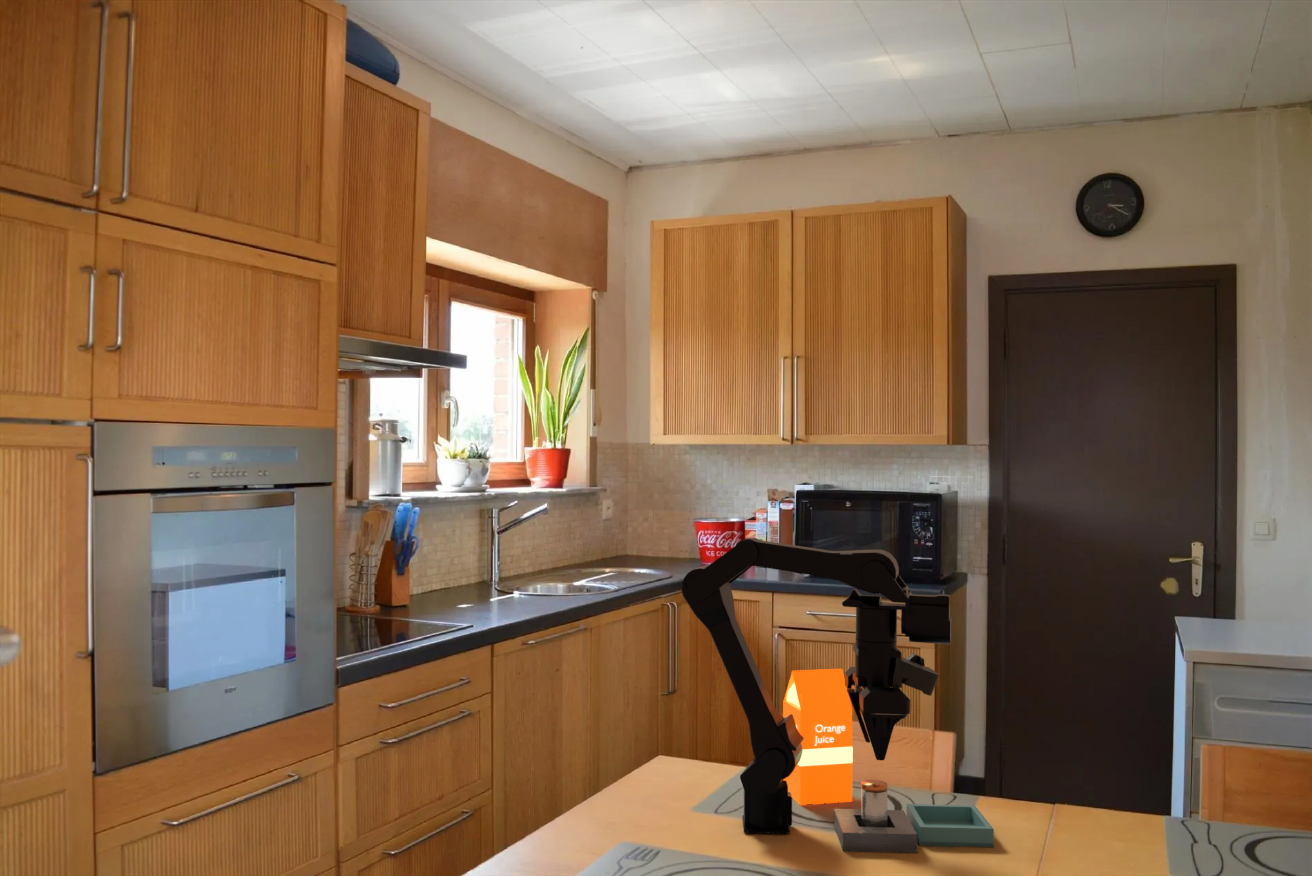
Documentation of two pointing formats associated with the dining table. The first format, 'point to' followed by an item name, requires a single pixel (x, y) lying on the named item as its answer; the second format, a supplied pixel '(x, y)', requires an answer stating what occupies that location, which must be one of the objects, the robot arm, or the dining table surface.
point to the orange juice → (821, 736)
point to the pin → (873, 803)
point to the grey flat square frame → (875, 833)
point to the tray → (950, 825)
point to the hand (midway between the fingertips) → (874, 750)
